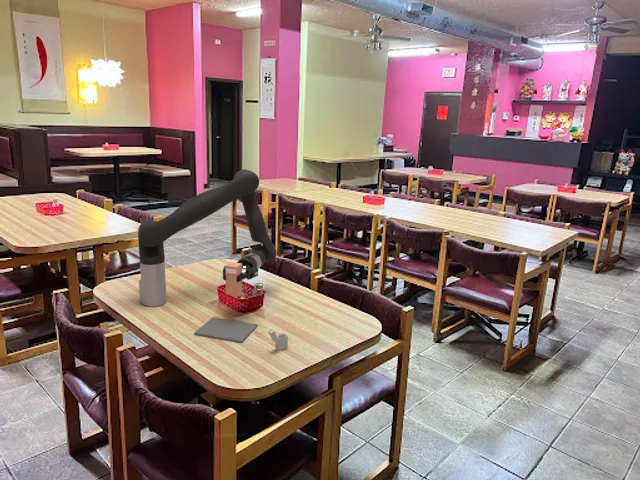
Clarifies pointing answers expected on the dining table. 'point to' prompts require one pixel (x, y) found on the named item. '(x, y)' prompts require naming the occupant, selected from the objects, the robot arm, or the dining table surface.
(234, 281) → the block
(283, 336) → the lighter
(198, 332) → the mat
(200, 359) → the dining table surface
